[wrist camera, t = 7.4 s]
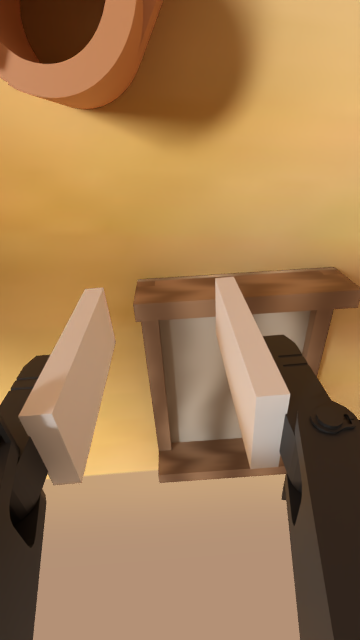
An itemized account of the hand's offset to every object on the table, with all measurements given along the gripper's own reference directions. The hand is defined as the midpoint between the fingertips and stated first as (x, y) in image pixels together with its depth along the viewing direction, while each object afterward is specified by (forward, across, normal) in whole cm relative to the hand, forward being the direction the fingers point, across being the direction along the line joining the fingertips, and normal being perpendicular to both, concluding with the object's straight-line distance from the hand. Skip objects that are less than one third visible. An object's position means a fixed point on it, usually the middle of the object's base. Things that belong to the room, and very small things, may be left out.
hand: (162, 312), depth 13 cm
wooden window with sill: (+13, +6, -16) cm, 21 cm away
